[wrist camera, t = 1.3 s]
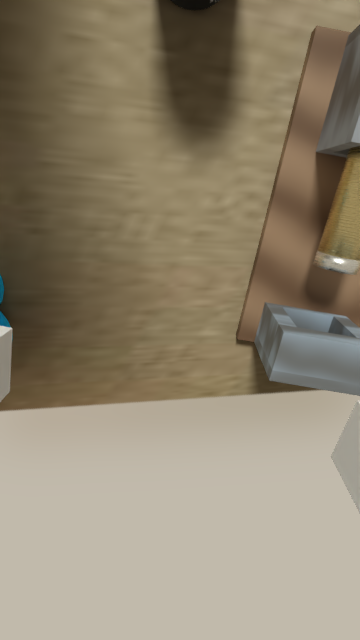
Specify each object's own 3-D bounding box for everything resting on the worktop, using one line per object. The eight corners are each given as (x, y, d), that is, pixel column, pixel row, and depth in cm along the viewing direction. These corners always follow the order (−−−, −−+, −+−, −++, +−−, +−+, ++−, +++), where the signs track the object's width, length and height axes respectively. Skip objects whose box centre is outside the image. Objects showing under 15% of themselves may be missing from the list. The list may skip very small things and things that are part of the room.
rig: (311, 32, 28) (362, -35, 19) (455, 60, 28) (566, 6, 20) (236, 334, 38) (248, 376, 29) (343, 353, 38) (386, 400, 29)
